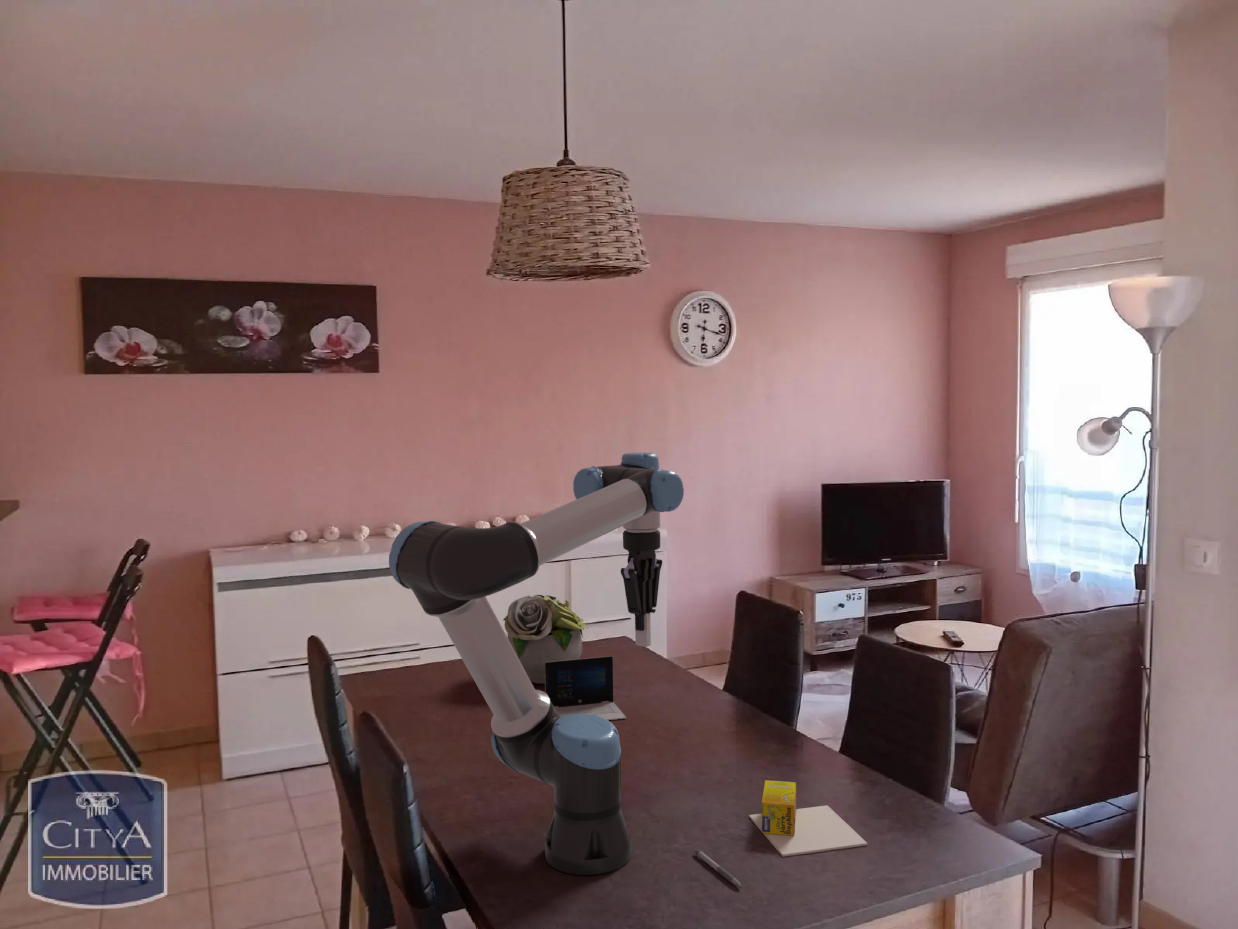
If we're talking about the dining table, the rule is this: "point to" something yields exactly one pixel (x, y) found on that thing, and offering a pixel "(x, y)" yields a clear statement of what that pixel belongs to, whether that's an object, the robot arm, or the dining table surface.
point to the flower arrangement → (543, 633)
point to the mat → (813, 832)
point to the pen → (717, 868)
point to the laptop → (582, 687)
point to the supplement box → (779, 807)
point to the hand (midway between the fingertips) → (643, 645)
